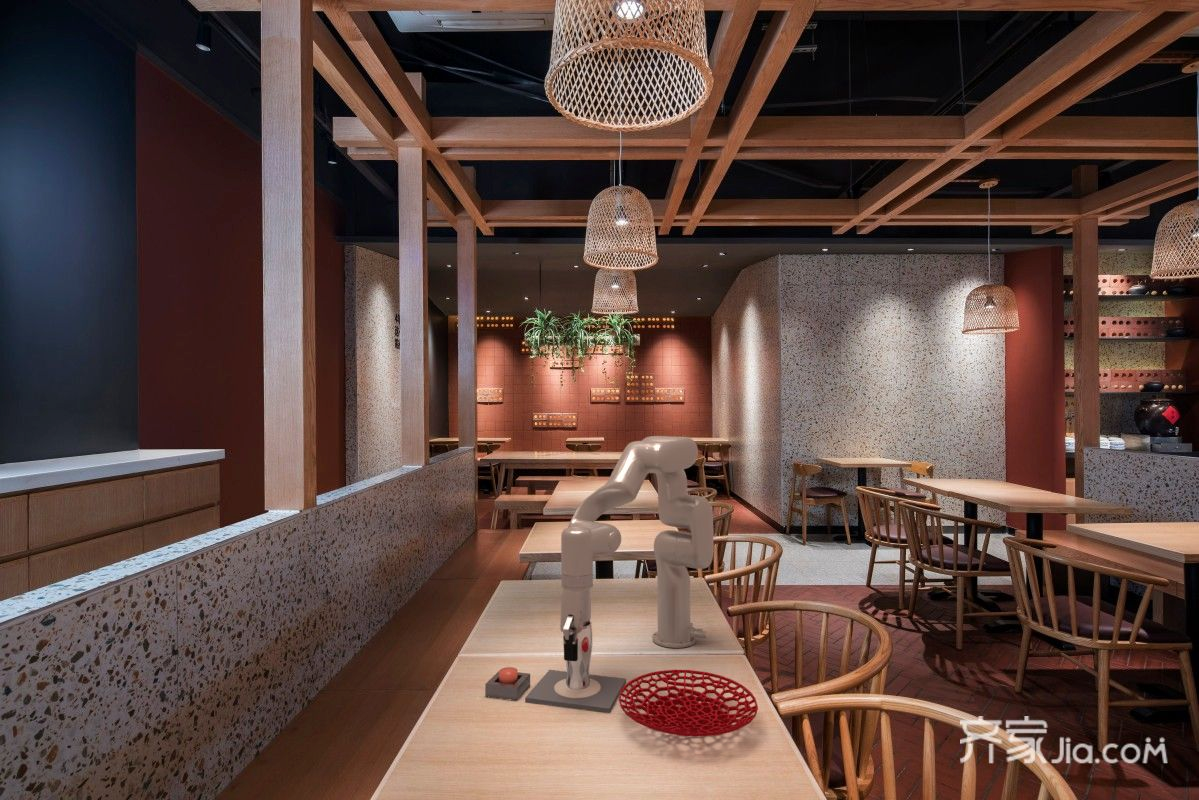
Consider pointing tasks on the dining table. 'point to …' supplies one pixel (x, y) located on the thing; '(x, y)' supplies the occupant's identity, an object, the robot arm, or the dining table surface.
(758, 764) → the dining table surface
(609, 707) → the grey rectangular board
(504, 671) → the button
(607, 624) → the dining table surface
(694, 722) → the bowl
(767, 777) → the dining table surface
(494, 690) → the button housing
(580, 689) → the beer glass
